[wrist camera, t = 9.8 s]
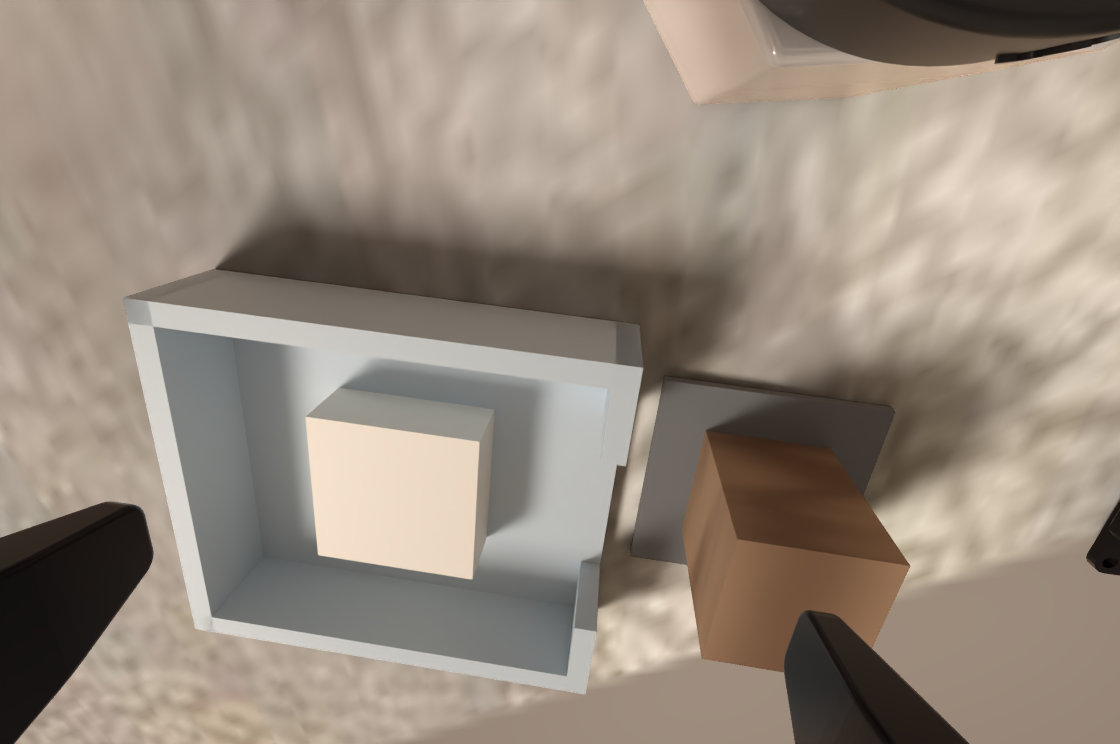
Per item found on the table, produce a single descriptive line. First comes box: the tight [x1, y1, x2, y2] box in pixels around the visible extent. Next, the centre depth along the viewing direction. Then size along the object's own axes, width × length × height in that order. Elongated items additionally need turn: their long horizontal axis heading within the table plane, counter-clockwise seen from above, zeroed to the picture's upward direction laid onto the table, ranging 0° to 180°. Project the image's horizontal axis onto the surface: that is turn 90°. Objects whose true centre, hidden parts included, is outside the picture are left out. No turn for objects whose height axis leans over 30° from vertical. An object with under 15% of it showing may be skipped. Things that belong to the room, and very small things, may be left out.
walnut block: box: [682, 430, 910, 672], centre depth 18 cm, size 4×4×6 cm
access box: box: [123, 269, 643, 694], centre depth 21 cm, size 16×14×4 cm
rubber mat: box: [631, 376, 895, 565], centre depth 21 cm, size 8×8×1 cm
